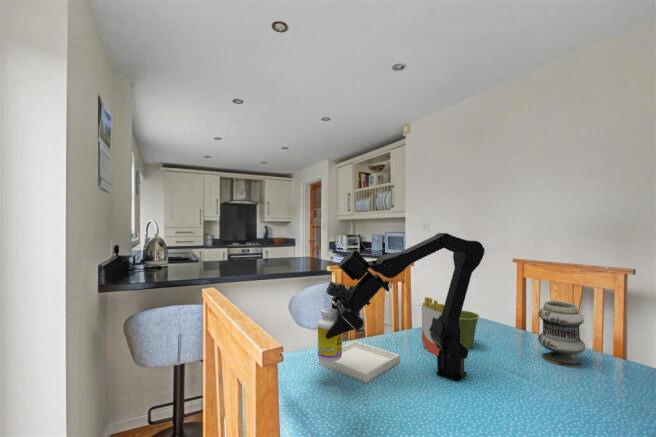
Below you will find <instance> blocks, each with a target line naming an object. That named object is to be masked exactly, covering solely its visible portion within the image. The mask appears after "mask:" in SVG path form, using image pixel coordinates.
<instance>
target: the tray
mask: <svg viewBox="0 0 656 437" xmlns="http://www.w3.org/2000/svg"><path fill="white" fill-rule="evenodd" d="M400 361H401V355H400V354H399V353H398V354H397V353H395V352H391V351H388V350H385V349H382V348H378V347H376V346H372V345H369V344H365V343H363V342H359V341H356V340H353V341H350V342H349V343H346V344H344V345H343V344H342V357H341V358H340V359H339V360H337V361H323V360H321V359H320V358H319V357H318V365H319V366H323V367H325V368H328V369H331V370H333V371H335V372H338V373H340V374H342V375H344V376H347V377H349V378H351V379H355V380H357V381H359V382H362V383H364V384H368V383H370V382H371V381H372V380H374V379H376V378H378V377H380V376H381V375H382V374H384V373H386V372H388V371H389V370H391V369H392V368H394V367H395V366H396V365H398V364H400V363H401V362H400Z"/></svg>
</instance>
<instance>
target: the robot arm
mask: <svg viewBox="0 0 656 437" xmlns="http://www.w3.org/2000/svg"><path fill="white" fill-rule="evenodd" d="M442 249H445V250H447V251H450V252H453V253H452V259H453V264H454V268H453V269H454V270H453V272H452V276H451V280H450V283H449V287H448V291H447V294H446V298H445V302H444V308H443V312H442V314H441V316H440V317H439V318H438V319H436V318H433V319H432V325H431V327H430V329H429V331H431V332H430V337H431V339H432V340H433V342H435V343H436V346H437V348H439V349H440V351H439V355H438V356H436V366H437V367H436V369H437V371H436V374H435V375H437V376H439V377H440V376H441V377H443V378H447V379H449V380H452V381H455V382H461V381H462V379H463V378H465V376H466V375H467V371H465V359H467V358H468V356H469V352H470V351H469V349H466V348H465V347H464V346H463V345H462V344H461V343H460V337H461V330H460V324H459V319H460V315H461V311H462V310H463V307H464V303H465V299H466V298H467V297H466V296H467V292H468V288H469V285H470V282H471V277H472V274H473V272H474V271H475V270H476V269H477V268H478V267H479V265H480V264H481V262H482V259H483V258H484V255H485V247H484V245H483V244H482V243H481V242H480V241H478V240H467V239H464V238H462V237H461V238H460V237H457V236H454V235H452V234H449V233H447V232H438V233H435V235H433V236H431V237H429V238H427V239H425V240H423V241H421V242H419V243H416V244H415V245H413V246H410V247H408V248H405V249H404V250H401V251H397V252H393V253H387V254H385V255H381V256H379V257H377V258H376V259H375V260H369V261H367V260H366V259H365V258H364V256H362V255H361V254H360V252H359V251H358V250H357V249H353V250H352V251H351V252H350V253H349V254H347V255H345V256H344V257H343V258H342V259H341V260H340V261H339V263H338V265H337V266H338V268H339V269H340V270H341V271H342V272H343V273H344V274H346V275H347V277H348V278H350V279H351V280H352V281H354V280H356V281H358V282H357V283H356V284H355V285H350V286H349V287H348V288H347V287H346V285H344V284H341V283H340V282H339V283H336V282H335V281H332V280H331V281H330V282H329V284H328V287H327V288H326V291H325V292H326V293H327V294H328V295H329V296H331V302H330V303H331V308H333V309H337V310H338V311H337V319H336V321H335V322H334V324H333V325H332V326H331V328H330V329H329V331H328V332H327V334H326V335H325V337H326V338H327V339H330V338H332V337H335V336H337V335H339V334H342V335H343V334H345V333H347V332H351V331H354V330H356V331H357V332H359V331H360V330H361V329H362V328H363V327H364V320H363V319H362V317H361V316H360V315H361V314H360V311H362V310H363V309H364V307H366V306H370V305H371V302H370V301H371V300H372V299H373V297H375V295H376V294H378V292H379V291H380V290H381V289H383V290H384V291H386V292H390V282H389V281H388V280H387V279H394V278H396V277H398V275H400V274H401V273H403V272H404V271H405V270H406V269H407V268H408V267H409V266H410V265H411V264H413V263H415V262H417V261H419V260H422V259H424V258H425V257H428V256H430V255H432V254H434V253H436V252H438V251H441V250H442ZM370 270H371V271H373V272H374V273H375V274H373V273H372V272H371V271H370ZM379 275H380V276H379ZM381 276H383V277H384V278H387V279H386V280H384V279H383V278H382V277H381Z"/></svg>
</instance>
